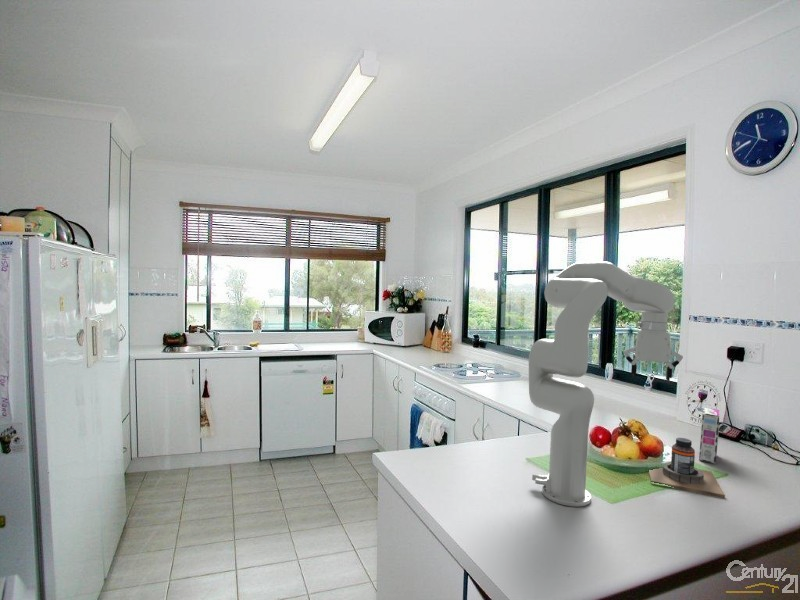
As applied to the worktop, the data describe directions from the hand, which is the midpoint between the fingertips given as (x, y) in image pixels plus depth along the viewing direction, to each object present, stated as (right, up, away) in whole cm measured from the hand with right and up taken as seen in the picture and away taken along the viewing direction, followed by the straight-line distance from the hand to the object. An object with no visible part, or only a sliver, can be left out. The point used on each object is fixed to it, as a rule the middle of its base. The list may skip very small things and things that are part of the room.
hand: (650, 378), depth 148 cm
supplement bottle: (+3, -28, -12) cm, 31 cm away
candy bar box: (+24, -29, +7) cm, 38 cm away
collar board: (+3, -29, -12) cm, 31 cm away
